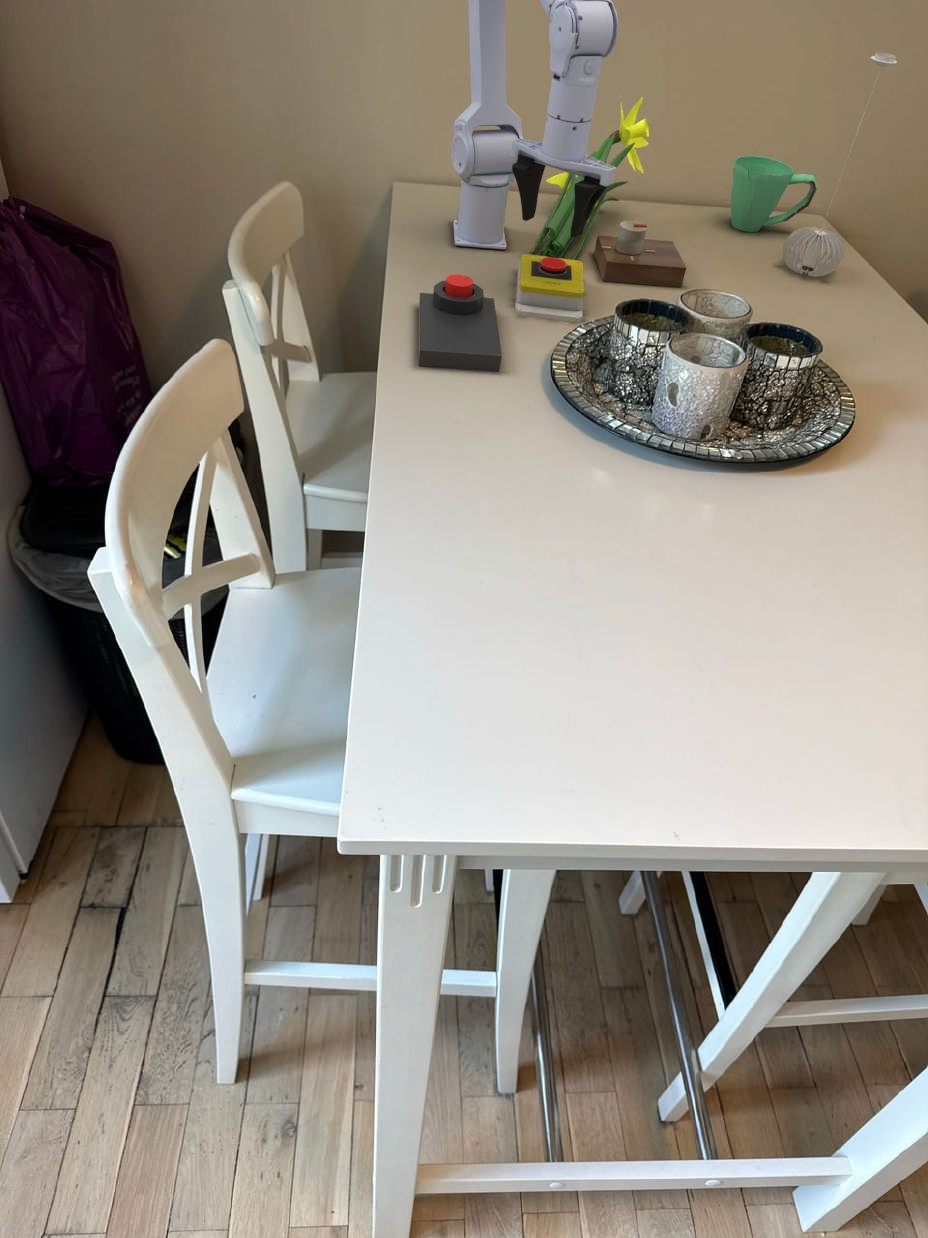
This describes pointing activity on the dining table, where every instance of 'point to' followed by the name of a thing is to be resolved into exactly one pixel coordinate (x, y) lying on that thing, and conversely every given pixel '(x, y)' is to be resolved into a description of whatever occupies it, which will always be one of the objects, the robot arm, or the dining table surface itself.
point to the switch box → (458, 331)
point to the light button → (459, 286)
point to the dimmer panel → (640, 263)
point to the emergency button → (550, 288)
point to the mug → (763, 192)
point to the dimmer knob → (631, 237)
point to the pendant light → (825, 235)
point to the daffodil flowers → (564, 211)
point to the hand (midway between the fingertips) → (551, 226)
